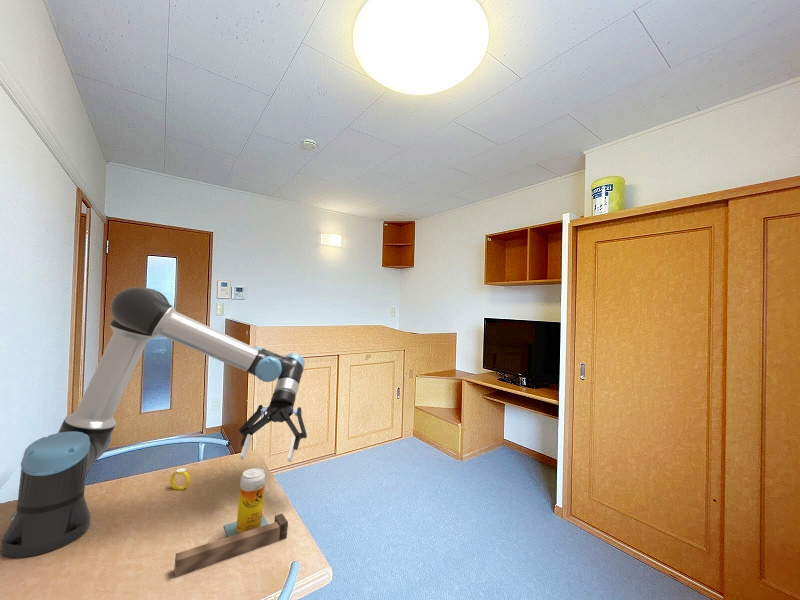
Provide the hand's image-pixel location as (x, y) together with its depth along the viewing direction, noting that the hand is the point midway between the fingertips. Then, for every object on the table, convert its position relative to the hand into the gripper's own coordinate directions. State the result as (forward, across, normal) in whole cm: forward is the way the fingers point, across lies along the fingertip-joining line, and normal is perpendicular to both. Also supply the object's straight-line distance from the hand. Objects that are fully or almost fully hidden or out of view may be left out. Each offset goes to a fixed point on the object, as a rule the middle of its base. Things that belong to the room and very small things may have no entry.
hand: (265, 459), depth 98 cm
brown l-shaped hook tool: (+22, +1, 0) cm, 22 cm away
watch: (+3, +30, -20) cm, 36 cm away
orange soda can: (+17, 0, -5) cm, 17 cm away
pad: (+16, +1, -6) cm, 17 cm away
